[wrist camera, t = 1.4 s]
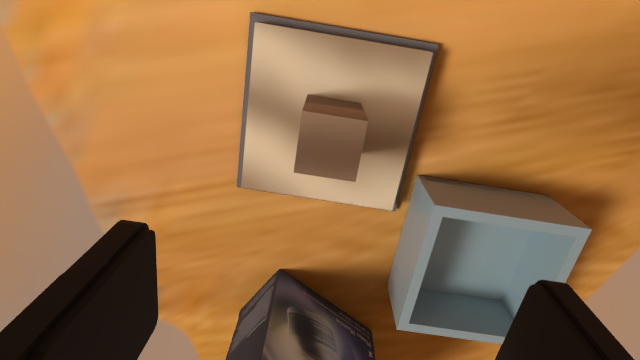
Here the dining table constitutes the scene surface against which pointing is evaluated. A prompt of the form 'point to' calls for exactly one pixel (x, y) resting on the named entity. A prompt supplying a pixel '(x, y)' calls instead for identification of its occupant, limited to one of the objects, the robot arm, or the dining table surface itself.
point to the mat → (338, 32)
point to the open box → (477, 257)
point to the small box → (296, 326)
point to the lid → (330, 115)
